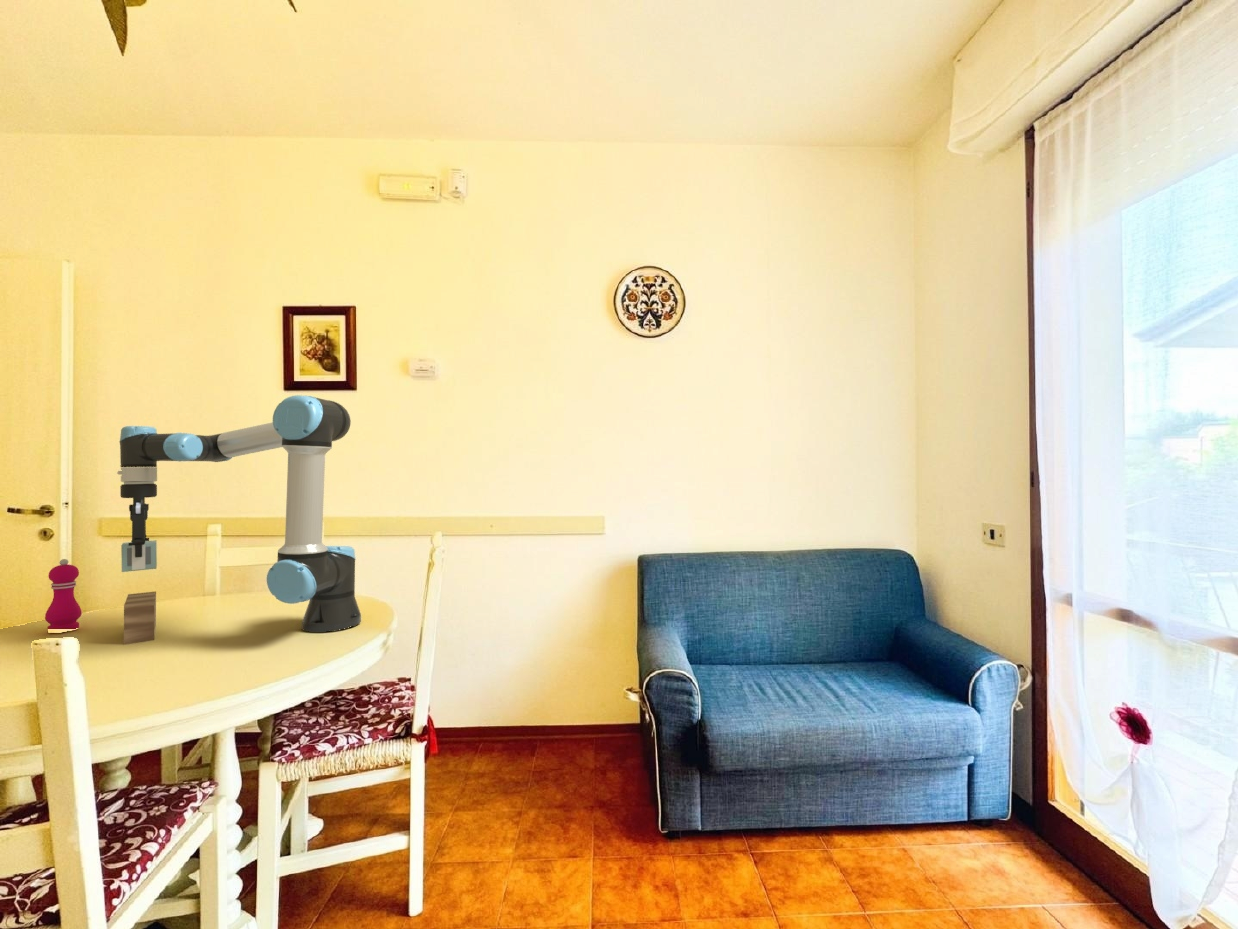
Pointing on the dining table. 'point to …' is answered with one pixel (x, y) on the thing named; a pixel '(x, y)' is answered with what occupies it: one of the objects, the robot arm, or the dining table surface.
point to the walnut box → (139, 617)
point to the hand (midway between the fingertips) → (139, 567)
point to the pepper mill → (63, 598)
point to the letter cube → (149, 556)
